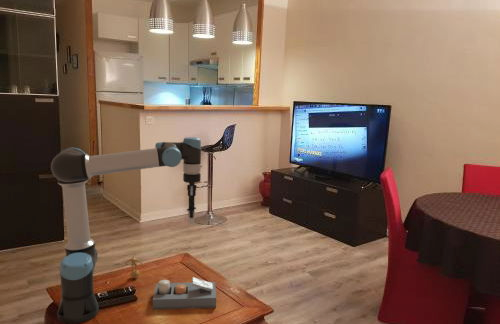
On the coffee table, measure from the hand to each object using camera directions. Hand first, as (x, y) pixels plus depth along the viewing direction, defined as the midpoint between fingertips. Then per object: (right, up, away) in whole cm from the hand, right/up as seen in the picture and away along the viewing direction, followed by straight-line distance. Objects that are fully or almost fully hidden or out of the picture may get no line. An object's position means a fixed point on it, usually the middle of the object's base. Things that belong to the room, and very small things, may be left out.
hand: (191, 223), depth 179 cm
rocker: (+6, -26, -7) cm, 27 cm away
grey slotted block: (-2, -32, -7) cm, 33 cm away
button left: (-10, -28, -8) cm, 31 cm away
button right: (-4, -30, -7) cm, 31 cm away
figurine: (-29, -28, +11) cm, 42 cm away
